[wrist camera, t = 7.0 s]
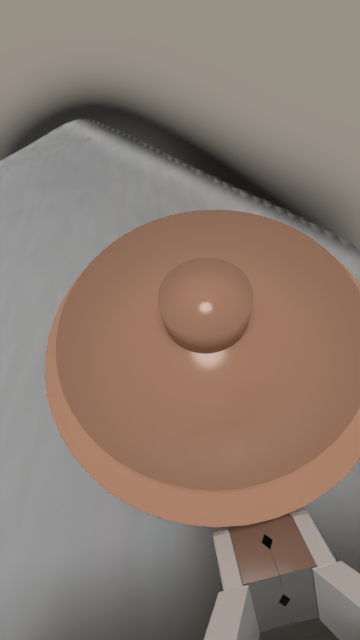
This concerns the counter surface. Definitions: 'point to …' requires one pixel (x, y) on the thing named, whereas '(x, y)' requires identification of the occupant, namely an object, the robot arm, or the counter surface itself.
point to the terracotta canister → (210, 369)
